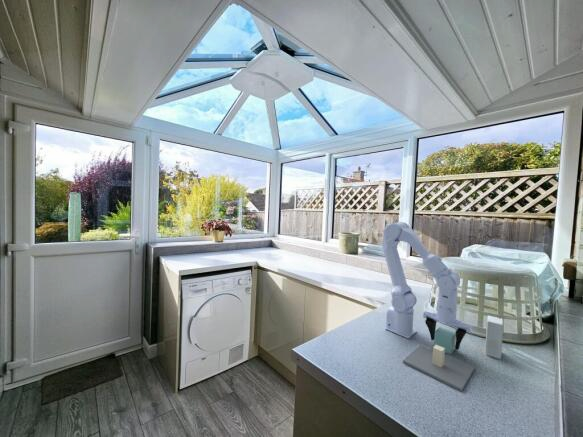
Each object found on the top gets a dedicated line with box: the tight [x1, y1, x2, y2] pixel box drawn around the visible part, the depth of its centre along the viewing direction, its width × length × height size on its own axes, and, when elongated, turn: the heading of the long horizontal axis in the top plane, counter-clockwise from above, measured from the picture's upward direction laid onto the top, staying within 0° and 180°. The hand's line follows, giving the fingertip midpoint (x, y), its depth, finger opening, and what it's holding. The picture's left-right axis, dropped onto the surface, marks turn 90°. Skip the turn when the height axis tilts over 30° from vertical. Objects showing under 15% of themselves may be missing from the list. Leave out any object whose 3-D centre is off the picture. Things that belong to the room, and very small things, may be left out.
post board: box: [402, 344, 476, 393], centre depth 77 cm, size 16×14×6 cm
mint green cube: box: [433, 326, 456, 355], centre depth 87 cm, size 5×5×6 cm
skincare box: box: [484, 315, 504, 360], centre depth 85 cm, size 6×4×12 cm
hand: (444, 343), depth 87 cm, fingers open, 7 cm apart
